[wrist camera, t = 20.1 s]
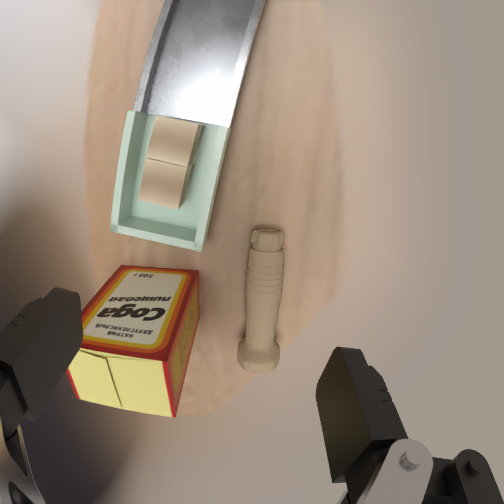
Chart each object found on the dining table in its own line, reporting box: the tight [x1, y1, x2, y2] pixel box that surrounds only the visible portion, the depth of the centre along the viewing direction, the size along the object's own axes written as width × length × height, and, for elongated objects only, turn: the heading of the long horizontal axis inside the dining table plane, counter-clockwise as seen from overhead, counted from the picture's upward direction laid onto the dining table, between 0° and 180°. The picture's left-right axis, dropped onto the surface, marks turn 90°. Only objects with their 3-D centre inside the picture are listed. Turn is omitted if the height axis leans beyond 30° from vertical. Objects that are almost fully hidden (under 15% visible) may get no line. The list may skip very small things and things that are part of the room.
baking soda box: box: [66, 265, 199, 417], centre depth 29 cm, size 10×6×16 cm
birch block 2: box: [138, 158, 195, 210], centre depth 29 cm, size 4×4×4 cm
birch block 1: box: [146, 115, 205, 167], centre depth 28 cm, size 4×4×4 cm
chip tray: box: [110, 111, 231, 252], centre depth 29 cm, size 12×10×4 cm
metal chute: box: [133, 0, 266, 128], centre depth 24 cm, size 20×10×3 cm, turn 166°
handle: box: [237, 229, 284, 373], centre depth 34 cm, size 5×6×15 cm
